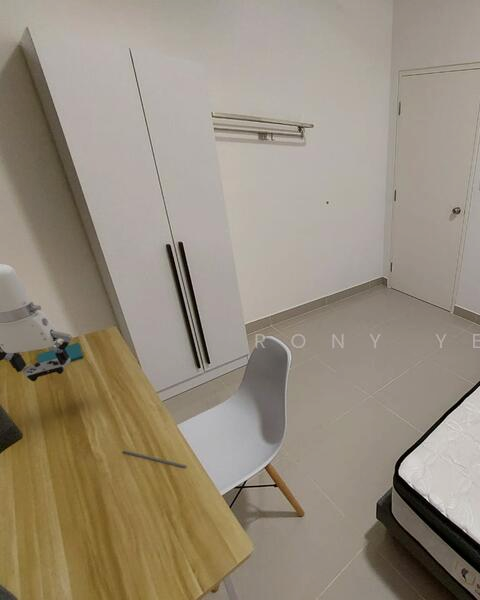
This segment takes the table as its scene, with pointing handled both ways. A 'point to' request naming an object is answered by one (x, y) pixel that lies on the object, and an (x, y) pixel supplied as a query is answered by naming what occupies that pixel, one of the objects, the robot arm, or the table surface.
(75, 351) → the pad
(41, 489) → the table surface
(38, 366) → the game controller
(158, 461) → the rod
